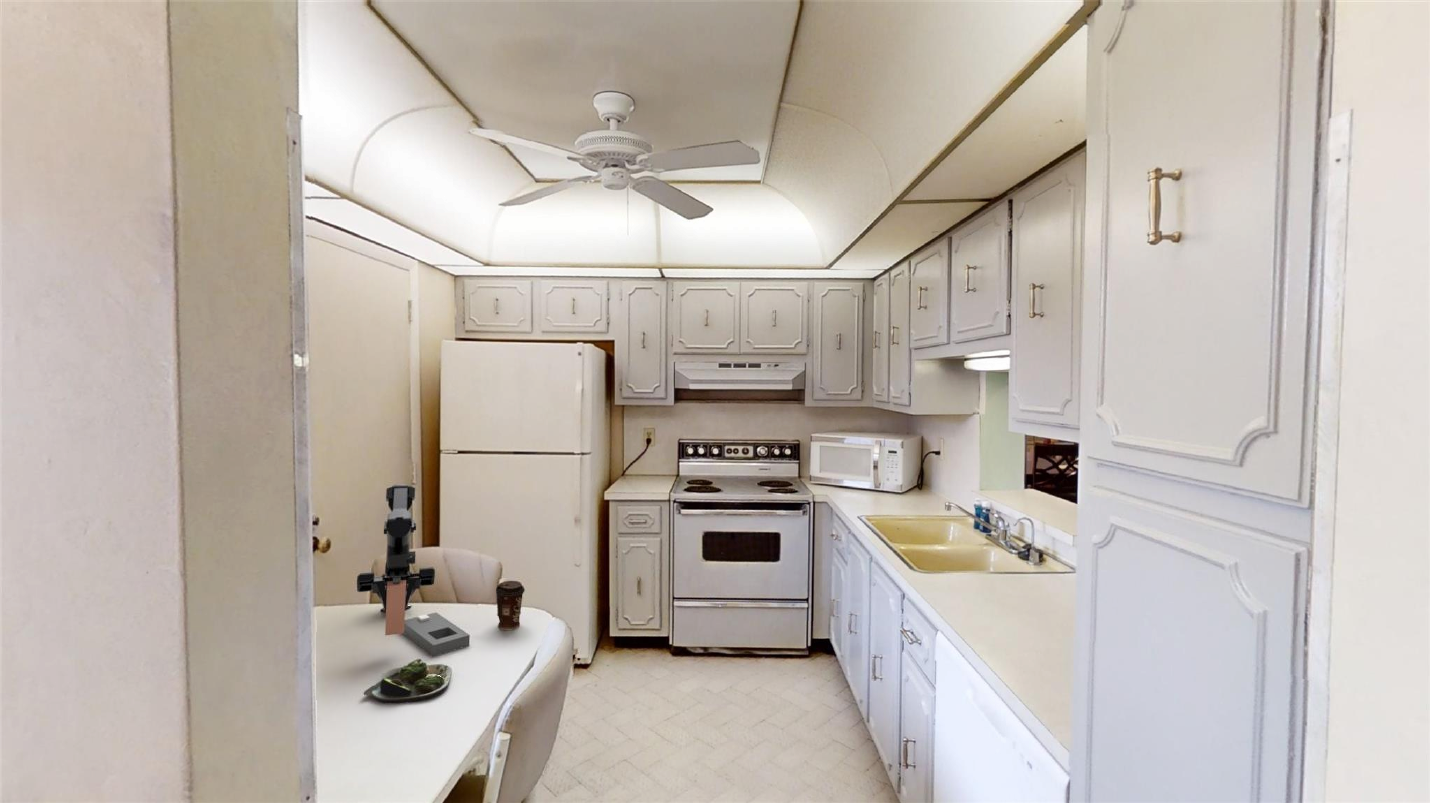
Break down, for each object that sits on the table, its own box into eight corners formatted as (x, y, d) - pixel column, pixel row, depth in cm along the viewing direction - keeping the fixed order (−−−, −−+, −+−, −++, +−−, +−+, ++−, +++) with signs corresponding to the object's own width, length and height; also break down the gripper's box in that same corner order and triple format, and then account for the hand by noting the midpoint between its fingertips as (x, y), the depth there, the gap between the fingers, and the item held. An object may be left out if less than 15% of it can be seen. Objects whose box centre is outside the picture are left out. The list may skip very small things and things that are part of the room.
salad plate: (383, 668, 151) (384, 650, 151) (458, 663, 156) (459, 646, 156) (357, 708, 133) (358, 688, 133) (443, 701, 137) (444, 682, 137)
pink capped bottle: (385, 629, 159) (387, 576, 159) (404, 626, 161) (406, 574, 161) (385, 635, 155) (387, 581, 155) (403, 633, 157) (406, 579, 157)
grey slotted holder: (401, 630, 173) (401, 617, 173) (435, 621, 180) (436, 609, 180) (432, 656, 158) (433, 642, 158) (469, 645, 166) (469, 632, 166)
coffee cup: (487, 628, 177) (489, 585, 177) (504, 618, 185) (506, 577, 185) (512, 633, 175) (513, 590, 175) (528, 623, 183) (530, 581, 182)
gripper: (358, 543, 157) (353, 598, 147) (436, 538, 166) (436, 590, 156) (359, 564, 164) (355, 618, 155) (433, 558, 173) (433, 609, 163)
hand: (395, 608), depth 157 cm, fingers closed on pink capped bottle, 4 cm apart
